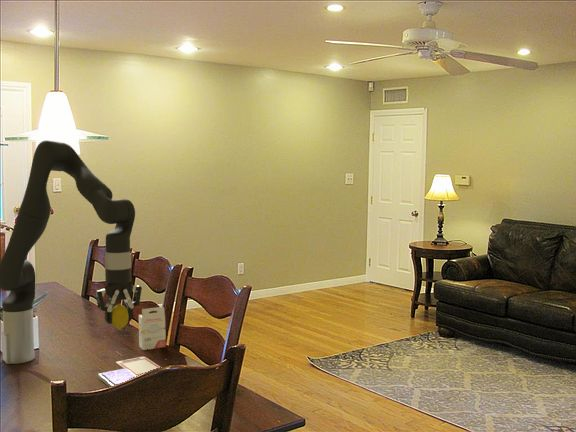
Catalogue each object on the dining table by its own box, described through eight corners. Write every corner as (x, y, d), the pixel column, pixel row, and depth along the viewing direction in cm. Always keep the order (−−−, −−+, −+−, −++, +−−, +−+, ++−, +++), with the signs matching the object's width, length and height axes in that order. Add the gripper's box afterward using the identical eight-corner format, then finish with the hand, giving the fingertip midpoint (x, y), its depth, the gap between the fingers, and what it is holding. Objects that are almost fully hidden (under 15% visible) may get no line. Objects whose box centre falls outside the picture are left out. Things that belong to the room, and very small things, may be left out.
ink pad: (114, 390, 183) (113, 385, 183) (98, 377, 193) (98, 372, 193) (143, 384, 188) (143, 379, 188) (126, 372, 199) (126, 367, 199)
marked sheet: (137, 378, 193) (137, 377, 193) (115, 362, 207) (115, 361, 207) (167, 372, 199) (167, 371, 199) (144, 357, 213) (144, 356, 213)
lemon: (119, 333, 186) (118, 306, 185) (105, 330, 189) (105, 304, 188) (132, 329, 190) (132, 303, 190) (119, 326, 193) (119, 300, 192)
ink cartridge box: (162, 343, 229) (161, 303, 227) (166, 347, 224) (165, 306, 223) (138, 346, 225) (138, 306, 223) (142, 350, 221) (141, 309, 219)
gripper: (99, 270, 180) (100, 328, 182) (146, 265, 189) (146, 321, 190) (90, 266, 186) (91, 322, 188) (136, 262, 195) (137, 315, 196)
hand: (119, 321), depth 189 cm, fingers closed on lemon, 5 cm apart
